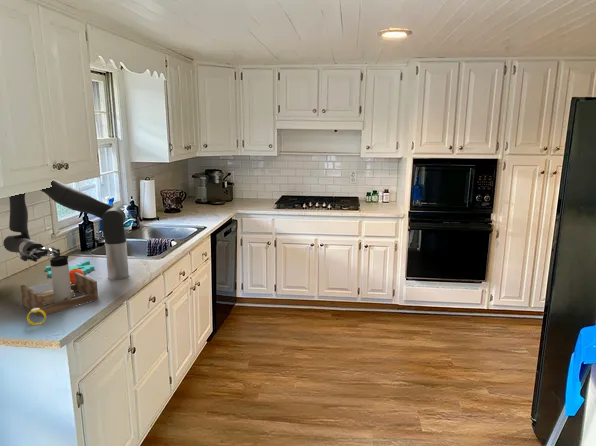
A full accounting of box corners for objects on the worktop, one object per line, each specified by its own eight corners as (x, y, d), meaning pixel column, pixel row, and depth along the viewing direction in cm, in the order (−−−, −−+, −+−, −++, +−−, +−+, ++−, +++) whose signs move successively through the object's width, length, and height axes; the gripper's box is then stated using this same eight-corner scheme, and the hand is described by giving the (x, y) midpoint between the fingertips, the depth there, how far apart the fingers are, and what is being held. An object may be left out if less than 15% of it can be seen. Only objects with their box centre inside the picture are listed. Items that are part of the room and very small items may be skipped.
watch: (27, 327, 158) (24, 312, 156) (30, 324, 160) (26, 309, 159) (45, 324, 159) (42, 309, 158) (48, 321, 162) (45, 306, 160)
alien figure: (45, 270, 219) (51, 282, 203) (45, 266, 219) (50, 277, 203) (89, 264, 231) (97, 274, 215) (88, 260, 230) (97, 270, 214)
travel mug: (71, 305, 176) (66, 258, 172) (52, 307, 175) (47, 259, 170) (74, 299, 182) (70, 253, 178) (57, 301, 180) (52, 254, 176)
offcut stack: (36, 303, 179) (35, 294, 178) (68, 293, 190) (67, 285, 189) (43, 306, 176) (41, 297, 175) (74, 296, 187) (74, 287, 186)
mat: (21, 289, 192) (21, 288, 192) (48, 283, 201) (47, 282, 201) (31, 296, 186) (31, 295, 185) (58, 288, 194) (58, 288, 194)
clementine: (66, 281, 203) (65, 266, 202) (83, 279, 207) (82, 264, 205) (68, 286, 197) (67, 271, 195) (85, 284, 200) (84, 269, 199)
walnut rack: (22, 304, 177) (20, 285, 175) (78, 289, 194) (77, 272, 192) (40, 316, 166) (38, 296, 164) (98, 299, 183) (96, 281, 181)
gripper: (12, 244, 185) (27, 251, 175) (48, 238, 196) (64, 245, 186) (14, 261, 187) (29, 269, 177) (49, 254, 198) (65, 262, 188)
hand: (47, 257), depth 181 cm, fingers open, 8 cm apart
